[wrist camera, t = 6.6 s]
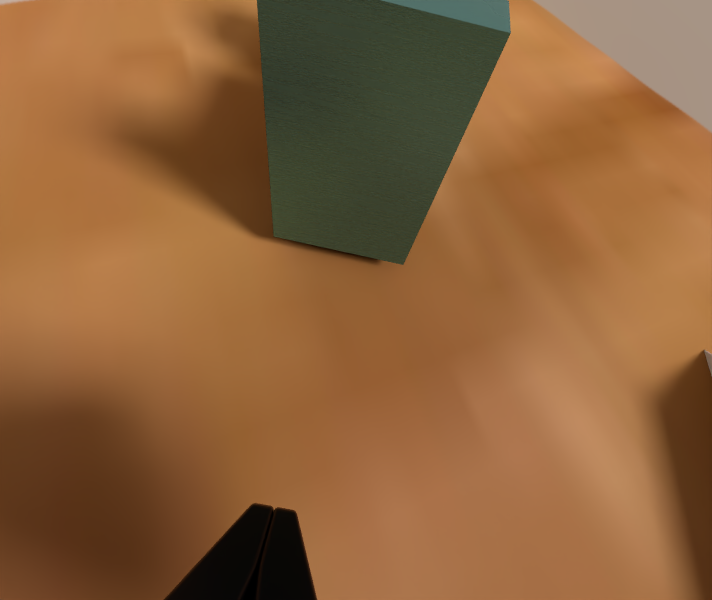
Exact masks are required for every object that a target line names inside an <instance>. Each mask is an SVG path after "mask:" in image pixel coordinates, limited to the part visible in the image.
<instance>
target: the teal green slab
mask: <svg viewBox="0 0 712 600" xmlns="http://www.w3.org/2000/svg"><path fill="white" fill-rule="evenodd" d="M257 8H258V22H259V36H260V50H261V64H262V78H263V92H264V106H265V120H266V135H267V149H268V163H269V177H270V191H271V205H272V219H273V233H274V237H279V238H283V239H288V240H292V241H297V242H301V243H306V244H311V245H315V246H320V247H324V248H329V249H333V250H338V251H343V252H347V253H352V254H356V255H361V256H365V257H370V258H375V259H379V260H384V261H388V262H393V263H398V264H402V265H403V264H404V262H405V260H406V258H407V256H408V254H409V251H410V249H411V247H412V245H413V243H414V241H415V238H416V236H417V234H418V232H419V230H420V228H421V225H422V223H423V221H424V219H425V217H426V215H427V212H428V210H429V208H430V206H431V204H432V202H433V200H434V197H435V195H436V193H437V191H438V189H439V187H440V184H441V182H442V180H443V178H444V176H445V174H446V171H447V169H448V167H449V165H450V163H451V161H452V159H453V156H454V154H455V152H456V150H457V148H458V146H459V143H460V141H461V139H462V137H463V135H464V133H465V130H466V128H467V126H468V124H469V122H470V120H471V117H472V115H473V113H474V111H475V109H476V107H477V105H478V102H479V100H480V98H481V96H482V94H483V92H484V89H485V87H486V85H487V83H488V81H489V79H490V76H491V74H492V72H493V70H494V68H495V66H496V63H497V61H498V59H499V57H500V55H501V53H502V51H503V48H504V46H505V44H506V42H507V40H508V38H509V35H510V33H511V31H510V14H509V1H507V0H257Z"/></svg>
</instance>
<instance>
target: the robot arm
mask: <svg viewBox="0 0 712 600" xmlns="http://www.w3.org/2000/svg"><path fill="white" fill-rule="evenodd" d="M164 600H317V597H316V593H315V589H314V585H313V580H312V576H311V572H310V568H309V563H308V559H307V555H306V551H305V546H304V542H303V538H302V534H301V529H300V525H299V521H298V517H297V513H296V512H295V511H294V510H290V509H285V508H279V507H277V508H275V510H274V509H273V507H272V506H268V505H263V504H257V503H254V504H252V505H251V506H250V507H249V508H248V509H247V510H246V511H245V512H244V513H243V514H242V515H241V516H240V517H239V519H238V520H237V521H236V522H235V523H234V524H233V525H232V526H231V527H230V528H229V529H228V531H227V532H226V533H225V534H224V535H223V536H222V537H221V538H220V539H219V540H218V541H217V542H216V544H215V545H214V546H213V547H212V548H211V549H210V550H209V551H208V552H207V553H206V554H205V556H204V557H203V558H202V559H201V560H200V561H199V562H198V563H197V564H196V565H195V566H194V568H193V569H192V570H191V571H190V572H189V573H188V574H187V575H186V576H185V577H184V578H183V579H182V581H181V582H180V583H179V584H178V585H177V586H176V587H175V588H174V589H173V590H172V591H171V593H170V594H169V595H168V596H167V597H166V598H165V599H164Z"/></svg>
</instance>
